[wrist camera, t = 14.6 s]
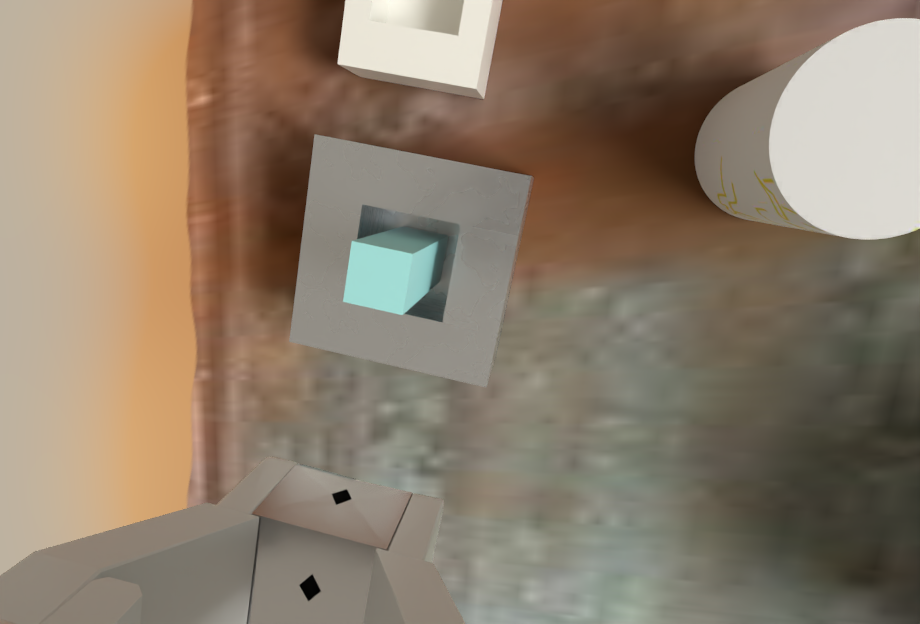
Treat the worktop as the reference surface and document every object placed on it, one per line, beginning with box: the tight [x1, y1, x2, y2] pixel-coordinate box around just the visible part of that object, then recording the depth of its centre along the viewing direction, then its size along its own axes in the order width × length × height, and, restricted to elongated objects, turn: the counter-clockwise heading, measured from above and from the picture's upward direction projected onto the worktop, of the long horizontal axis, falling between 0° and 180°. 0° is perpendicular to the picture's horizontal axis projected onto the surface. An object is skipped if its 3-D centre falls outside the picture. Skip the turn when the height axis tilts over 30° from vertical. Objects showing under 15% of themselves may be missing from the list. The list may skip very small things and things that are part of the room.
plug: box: [343, 226, 449, 315], centre depth 32 cm, size 3×3×10 cm
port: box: [289, 134, 534, 387], centre depth 35 cm, size 12×12×6 cm
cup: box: [695, 18, 920, 239], centre depth 28 cm, size 8×8×12 cm
